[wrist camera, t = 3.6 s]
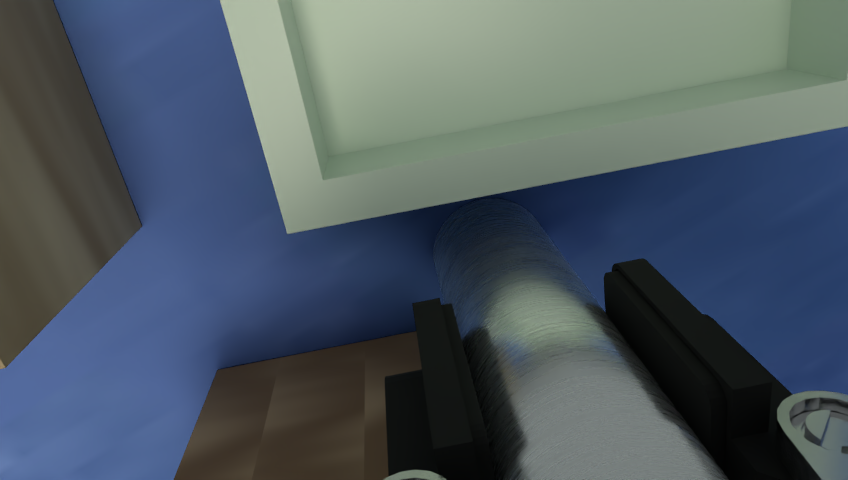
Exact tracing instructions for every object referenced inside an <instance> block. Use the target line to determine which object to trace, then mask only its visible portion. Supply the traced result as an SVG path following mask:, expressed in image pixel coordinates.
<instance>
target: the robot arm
mask: <svg viewBox="0 0 848 480" xmlns="http://www.w3.org/2000/svg"><path fill="white" fill-rule="evenodd" d="M604 292H605V310H606V314H607V316H608V317H609V318H610V320H611V321H612V323H613V324H614V325H615V327H616V328H617V329H618V331H619V332H620V333H621V335H622V336H623V337H624V339H625V340H626V341H627V343H628V344H629V345H630V347H631V348H632V349H633V351H634V352H635V354H636V355H637V356H638V358H639V359H640V360H641V362H642V363H643V364H644V366H645V367H646V368H647V370H648V371H649V372H650V374H651V375H652V376H653V378H654V379H655V380H656V382H657V383H658V385H659V386H660V387H661V389H662V390H663V391H664V393H665V394H666V395H667V397H668V398H669V399H670V401H671V402H672V403H673V405H674V406H675V407H676V409H677V410H678V412H679V413H680V414H681V416H682V417H683V418H684V420H685V421H686V422H687V424H688V425H689V426H690V428H691V429H692V430H693V432H694V433H695V434H696V436H697V437H698V438H699V440H700V441H701V443H702V444H703V445H704V447H705V448H706V449H707V451H708V452H709V453H710V455H711V456H712V457H713V459H714V460H715V461H716V463H717V464H718V465H719V467H720V468H721V469H722V471H723V472H724V474H725V475H726V476H727V478H728V479H729V480H848V395H845V394H842V393H835V392H828V391H805V392H801V393H797V394H792V393H791V392H789V391H788V390H787V389H786V388H785V387H784V386H783V385H782V384H781V383H780V382H779V381H778V380H777V379H776V378H775V377H774V376H773V375H772V374H770V373H769V372H768V371H767V370H766V369H765V368H764V367H763V366H762V365H761V364H760V363H759V362H758V361H757V360H756V359H755V358H754V357H753V356H752V355H750V354H749V353H748V352H747V351H746V350H745V349H744V348H743V347H742V346H741V345H740V344H739V343H738V342H737V341H736V340H735V339H734V338H733V337H731V336H730V335H729V334H728V333H727V332H726V331H725V330H724V329H723V328H722V327H721V326H720V325H719V324H718V323H717V322H716V321H715V320H714V319H712V318H711V317H709V316H708V315H704V314H701V313H700V312H699V311H698V310H697V309H696V308H695V307H694V306H693V305H692V304H691V303H690V302H689V301H688V300H687V299H686V298H685V297H684V296H683V295H682V294H681V293H680V292H679V291H678V290H677V289H676V288H674V287H673V286H672V285H671V284H670V283H669V282H668V281H667V280H666V279H665V278H664V277H663V276H662V275H661V274H660V273H659V272H658V271H657V270H656V269H655V268H654V267H653V266H652V265H651V264H650V263H649V262H648V261H647V260H645V259H637V260H632V261H627V262H621V263H616V264H614V265H613V267H612V272H608V273H605V275H604ZM412 304H413V311H414V318H415V325H416V332H417V339H418V346H419V353H420V360H421V367H422V369H421V370H416V371H411V372H406V373H400V374H395V375H390V376H385V406H386V429H387V453H388V476H389V477H386V478H385V479H384V480H495V476H494V470H493V464H492V458H491V452H490V447H489V442H488V437H487V433H486V429H485V425H484V421H483V417H482V414H481V410H480V406H479V402H478V399H477V395H476V391H475V388H474V384H473V380H472V376H471V373H470V369H469V365H468V362H467V358H466V354H465V350H464V347H463V343H462V339H461V336H460V332H459V328H458V325H457V321H456V317H455V313H454V310H453V306H452V303H449V304H444V305H441V302H440V298H437V299H432V300H427V301H421V302H416V303H412Z"/></svg>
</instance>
